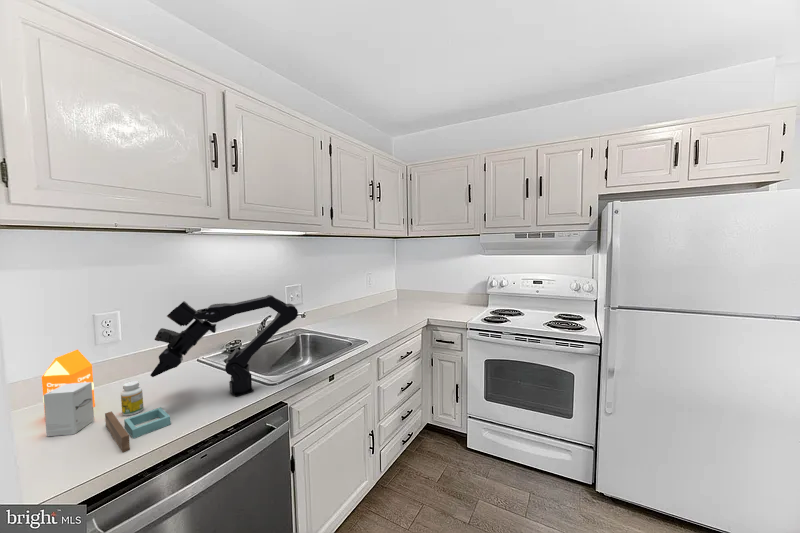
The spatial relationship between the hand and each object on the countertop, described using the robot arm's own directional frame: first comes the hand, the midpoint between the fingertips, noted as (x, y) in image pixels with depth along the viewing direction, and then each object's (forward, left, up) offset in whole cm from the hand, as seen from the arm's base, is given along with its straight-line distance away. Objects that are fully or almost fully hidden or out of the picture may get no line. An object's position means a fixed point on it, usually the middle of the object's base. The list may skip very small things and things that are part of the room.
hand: (155, 371), depth 106 cm
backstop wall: (+11, +13, -12) cm, 21 cm away
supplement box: (+20, -3, -13) cm, 24 cm away
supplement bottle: (+6, -2, -13) cm, 14 cm away
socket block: (+4, +12, -12) cm, 18 cm away
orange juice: (+20, -15, -13) cm, 28 cm away
